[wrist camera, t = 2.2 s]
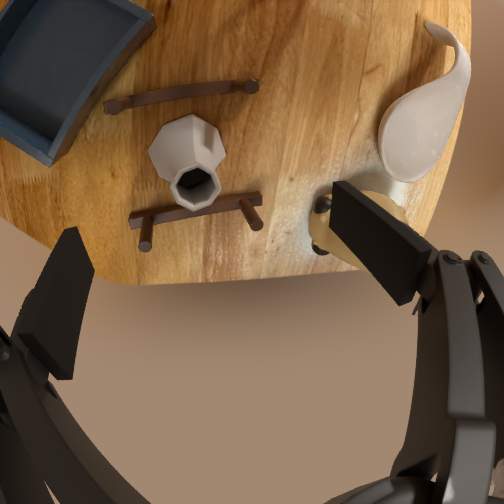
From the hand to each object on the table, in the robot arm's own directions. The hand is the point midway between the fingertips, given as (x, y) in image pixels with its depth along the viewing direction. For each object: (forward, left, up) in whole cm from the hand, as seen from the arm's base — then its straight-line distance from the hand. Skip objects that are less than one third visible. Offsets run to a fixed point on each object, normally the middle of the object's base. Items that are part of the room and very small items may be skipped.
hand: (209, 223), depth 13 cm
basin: (-12, +13, -15) cm, 23 cm away
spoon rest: (+28, +7, -15) cm, 32 cm away
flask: (0, 0, -15) cm, 15 cm away
